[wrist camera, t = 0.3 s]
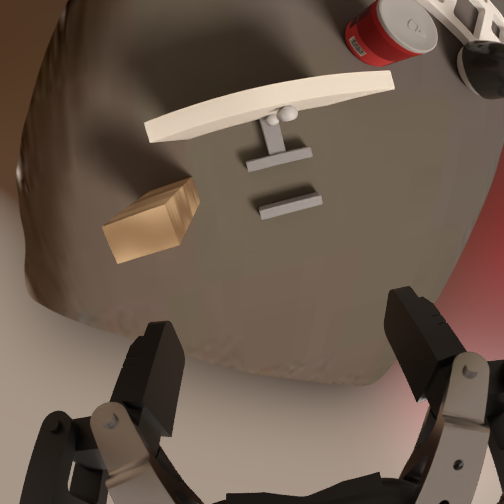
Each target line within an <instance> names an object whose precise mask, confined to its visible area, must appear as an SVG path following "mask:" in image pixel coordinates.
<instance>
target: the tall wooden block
mask: <svg viewBox="0 0 504 504" xmlns="http://www.w3.org/2000/svg"><path fill="white" fill-rule="evenodd" d="M199 203H200V200H199V197H198V194H197V191H196V188H195V185H194V182H193V178H192V177H189V178H186V179H183V180H180V181H177V182H174V183H171V184H168V185H165V186H163V187H160V188H157V189H154V190H151V191H149V192H148V193H146V194H145V195H143V196H142V197H141V198H139V199H138V200H136V201H135V202H134V203H132V204H131V205H130V206H128V207H127V208H126V209H124V210H123V211H122V212H120V213H119V214H118V215H117V216H115V217H114V218H113V219H111V220H110V221H109V222H108V223H106V224H105V225H104V226H103V227H102V228H103V231H104V233H105V236H106V238H107V240H108V243H109V245H110V247H111V250H112V252H113V254H114V257H115V259H116V261H117V263H118V264H119V263H122V262H125V261H128V260H131V259H135V258H138V257H141V256H145V255H148V254H151V253H155V252H158V251H161V250H165V249H168V248H171V247H175V246H178V245H180V243H181V241H182V239H183V237H184V235H185V232H186V230H187V228H188V226H189V224H190V222H191V220H192V218H193V216H194V214H195V212H196V209H197V207H198V205H199Z"/></svg>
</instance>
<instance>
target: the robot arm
mask: <svg viewBox="0 0 504 504" xmlns="http://www.w3.org/2000/svg"><path fill="white" fill-rule="evenodd" d="M384 330H385V334H386V337H387V339H388V341H389V343H390V345H391V347H392V349H393V351H394V353H395V355H396V358H397V360H398V362H399V364H400V366H401V368H402V370H403V373H404V374H405V377H406V379H407V381H408V383H409V386H410V388H411V390H412V393H413V395H414V397H415V399H416V402H417V403H419V402H422V401H425V400H428V402H429V405H430V406H429V407H428V410H427V413H426V416H425V419H424V422H423V425H422V428H421V431H420V434H419V437H418V440H417V442H416V445H415V447H414V450H413V452H412V454H411V456H410V458H409V460H408V461H407V463H406V465H405V467H404V468H403V470H402V472H401V474H400V477H399V479H396V478H381V476H380V472H377V473H374V474H370V475H367V476H363V477H359V478H355V479H351V480H347V481H343V482H340V483H338V484H336V485H334V486H331V487H329V488H327V489H324V490H322V491H319V492H317V493H314V494H312V495H309V496H304V497H298V496H289V495H279V494H272V493H265V492H262V493H227V494H226V500H223V501H219V502H216V503H213V504H471V502H472V499H473V496H474V493H475V490H476V487H477V484H478V481H479V477H480V474H481V470H482V466H483V462H484V458H485V454H486V449H487V445H489V448H490V451H491V454H492V457H493V460H494V464H495V467H496V470H497V474H498V477H499V481H500V484H501V488H502V492H503V493H502V495H501V497H500V500H499V502H498V503H497V504H504V360H496V361H486V360H485V359H484V358H483V357H482V356H481V355H479V354H477V353H474V352H467V351H466V350H465V348H464V347H463V345H462V344H461V342H460V341H459V339H458V338H457V336H456V335H455V333H454V332H453V330H452V329H451V327H450V326H449V325H448V323H446V320H445V319H444V318H443V316H442V315H440V312H439V311H438V309H437V308H436V307H435V305H434V304H433V303H431V302H430V301H428V300H427V299H425V298H424V297H418V296H417V295H416V293H415V292H414V291H413V289H412V288H411V287H410V286H406V287H402V288H397V289H392V290H390V291H389V294H388V300H387V307H386V313H385V318H384ZM184 365H185V356H184V351H183V348H182V346H181V344H180V341H179V339H178V337H177V334H176V332H175V330H174V328H173V325H172V323H171V322H170V321H158V322H150V323H149V324H148V326H147V328H146V331H145V334H144V336H139V337H138V338H137V339H136V340H135V341H134V343H133V344H132V345H131V346H130V348H129V351H128V353H127V356H126V359H125V361H124V364H123V368H122V369H121V371H120V374H119V377H118V380H117V382H116V385H115V388H114V391H113V394H112V396H111V399H110V401H109V402H108V403H104V404H102V405H100V406H99V407H98V408H97V409H96V410H95V411H94V412H93V414H92V416H90V417H84V418H78V419H71V418H70V417H69V416H68V415H67V414H66V413H65V412H63V411H55V412H52V413H50V414H49V415H48V416H47V417H46V418H45V419H44V421H43V423H42V426H41V428H40V431H39V434H38V437H37V440H36V443H35V446H34V449H33V453H32V456H31V459H30V463H29V466H28V470H27V474H26V477H25V482H24V485H23V490H22V494H21V499H20V504H106V502H107V495H108V492H109V494H110V496H111V498H112V500H113V502H114V504H204V503H203V502H202V501H201V499H200V498H199V497H198V496H197V495H196V494H195V493H194V492H193V491H192V490H191V489H190V488H189V487H188V486H187V484H186V483H185V482H184V480H183V479H182V478H181V476H180V475H179V473H178V472H177V470H176V469H175V467H174V466H173V464H172V463H171V462H170V460H169V459H168V457H167V455H166V454H165V452H164V451H163V449H162V447H161V446H160V445H159V442H160V437H161V436H166V437H172V431H173V425H174V419H175V413H176V407H177V401H178V396H179V391H180V385H181V380H182V375H183V369H184ZM73 461H74V462H75V467H74V472H73V476H72V481H71V486H70V491H69V490H68V479H69V475H70V470H71V466H72V462H73Z"/></svg>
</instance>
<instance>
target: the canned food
mask: <svg viewBox="0 0 504 504" xmlns="http://www.w3.org/2000/svg"><path fill="white" fill-rule="evenodd" d="M345 40H346V44H347V46H348V48H349V49H350V51H351V52H352V53H353V54H354V55H355V56H356V57H357V58H358V59H359V60H361V61H362V62H364V63H366V64H369V65H372V66H380V67H381V66H386V65H389V64H392V63H395V62H398V61H401V60H404V59H408V58H411V57H414V56H417V55H421V54H423V53H427V52H429V51H431V50H432V49H434V47H435V46H436V44H437V40H438V34H437V29H436V26H435V24H434V22H433V20H432V18H431V17H430V15H429V14H428V12H427V11H426V10H425V9H424V8H423V7H422V6H421V5H420V4H419V3H418V2H416V1H415V0H376V1H375V2H374V3H372V4H371V5H370V6H369V7H367V8H366V9H365V10H364V11H363V12H361V13H360V14H359V15H358V16H357V17H355V18H354V19H353V20H352V21H351V22H350V23H349V24H348V25H347V27H346V31H345Z"/></svg>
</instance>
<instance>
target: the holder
mask: <svg viewBox="0 0 504 504" xmlns="http://www.w3.org/2000/svg"><path fill="white" fill-rule="evenodd" d="M416 1H417V2H418V3H420V4H421V5H422V6H423V7H424V8H426V9H427V10H428V11H429V12H430V13H431V14H432V15H434V16H435V17H436V18H437V19H438V20H439V21H440V22H441V23H442V24H443V25H444V26H446V27H447V28H448V29H449V30H450V31H451V32H452V33H453V34H454V35H455V36H456V37H457V38H458V39H459V40H460V41H461V42H462V44H463V45H465V44H466V43H467V42H469V41H474V40H489V41H496V42H500V43H504V17H503V16H502V15H501V13H500V12H499V11H498V10H497V9H496V7H495V6H494V5H493V4H492V3H491V2H490V1H489V0H469V1H470V2H471V3H472V4H473V5H474V6H475V7H476V8H477V10H478V18H477V22H476V26H475V29H474V33H473V34H472V33H471V32H470V31H469V30H468V29H467V28H466V27H465V26H464V25H463V24H462V23H461V22H460V21H459V20H458V19H457V18H456V17H455V15H454V13H453V11H454V8H455V5H456V2H457V0H439V1H438V0H416ZM492 21H494V22H495V23H496V25H497V26H498V27H499V29H500V34H499V39H498V38H497V37H496V36H495V35H494V33H493V32H492V30H491V26H492Z"/></svg>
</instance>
